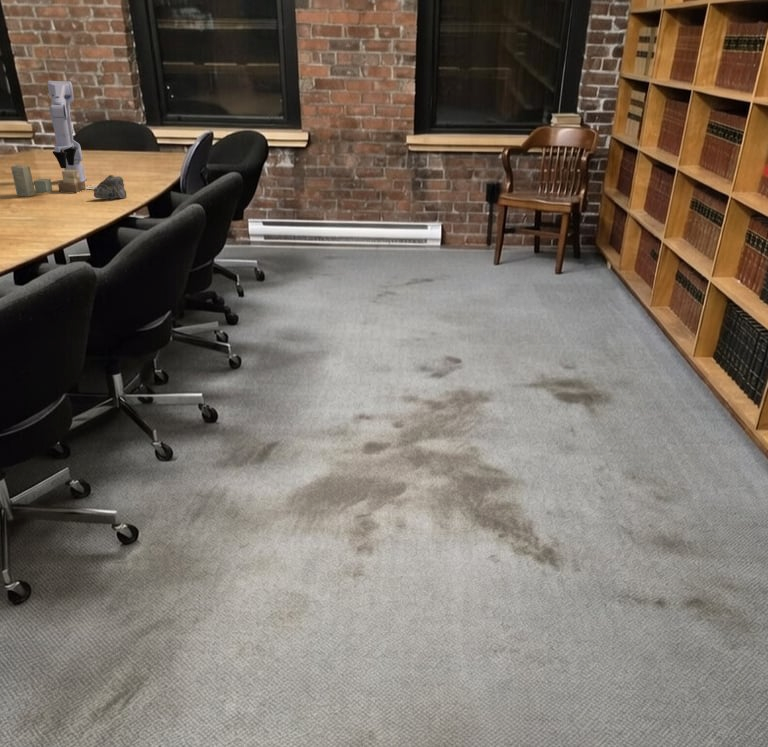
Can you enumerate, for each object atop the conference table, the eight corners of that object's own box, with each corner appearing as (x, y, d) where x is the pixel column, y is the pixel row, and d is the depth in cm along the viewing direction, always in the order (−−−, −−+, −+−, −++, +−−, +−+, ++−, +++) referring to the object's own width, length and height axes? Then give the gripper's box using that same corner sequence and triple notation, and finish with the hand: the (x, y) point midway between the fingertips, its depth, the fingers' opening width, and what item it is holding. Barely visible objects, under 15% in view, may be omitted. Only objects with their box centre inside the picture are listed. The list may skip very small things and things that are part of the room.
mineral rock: (94, 201, 279) (90, 177, 275) (95, 196, 288) (92, 172, 284) (126, 201, 283) (123, 177, 279) (127, 195, 292) (124, 172, 288)
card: (91, 185, 309) (91, 184, 308) (106, 185, 309) (106, 184, 308) (82, 189, 300) (82, 188, 299) (97, 190, 300) (97, 188, 299)
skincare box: (36, 195, 285) (30, 166, 279) (28, 197, 281) (23, 167, 275) (23, 193, 286) (18, 164, 281) (16, 195, 282) (10, 166, 277)
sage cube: (41, 190, 295) (39, 178, 292) (52, 190, 295) (50, 179, 292) (35, 192, 290) (33, 180, 288) (47, 192, 290) (45, 181, 288)
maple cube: (68, 181, 297) (66, 169, 294) (79, 181, 297) (78, 170, 294) (63, 183, 292) (61, 171, 290) (74, 183, 292) (73, 172, 290)
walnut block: (69, 189, 300) (67, 180, 298) (85, 190, 299) (84, 181, 297) (59, 192, 293) (58, 183, 291) (76, 194, 292) (75, 184, 290)
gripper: (60, 131, 292) (65, 163, 298) (44, 136, 279) (50, 168, 285) (76, 132, 292) (81, 164, 298) (61, 136, 279) (66, 169, 285)
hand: (67, 166), depth 292 cm, fingers open, 7 cm apart
